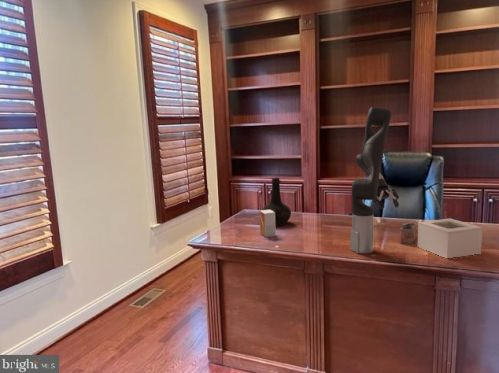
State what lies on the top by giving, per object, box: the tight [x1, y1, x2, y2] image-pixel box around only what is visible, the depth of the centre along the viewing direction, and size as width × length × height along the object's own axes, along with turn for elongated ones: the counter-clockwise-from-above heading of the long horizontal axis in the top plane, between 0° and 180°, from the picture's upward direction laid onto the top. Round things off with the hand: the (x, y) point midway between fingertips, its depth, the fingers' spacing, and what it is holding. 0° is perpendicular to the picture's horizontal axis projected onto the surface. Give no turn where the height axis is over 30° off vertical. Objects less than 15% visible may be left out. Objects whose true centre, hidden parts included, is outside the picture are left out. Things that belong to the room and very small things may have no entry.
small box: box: [259, 209, 277, 238], centre depth 207 cm, size 8×6×13 cm
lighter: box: [399, 222, 417, 245], centre depth 184 cm, size 8×3×10 cm, turn 105°
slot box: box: [417, 217, 484, 259], centre depth 171 cm, size 18×18×12 cm
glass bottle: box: [261, 177, 292, 226], centre depth 228 cm, size 18×18×28 cm
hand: (390, 207), depth 196 cm, fingers open, 8 cm apart
